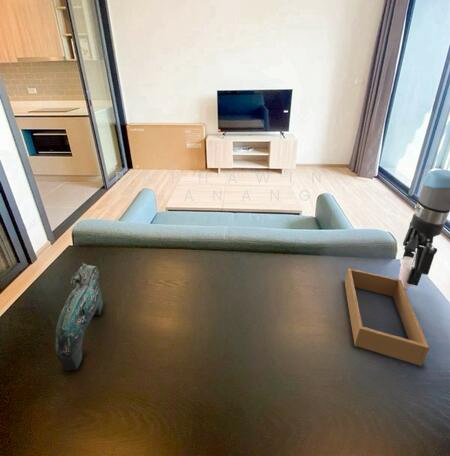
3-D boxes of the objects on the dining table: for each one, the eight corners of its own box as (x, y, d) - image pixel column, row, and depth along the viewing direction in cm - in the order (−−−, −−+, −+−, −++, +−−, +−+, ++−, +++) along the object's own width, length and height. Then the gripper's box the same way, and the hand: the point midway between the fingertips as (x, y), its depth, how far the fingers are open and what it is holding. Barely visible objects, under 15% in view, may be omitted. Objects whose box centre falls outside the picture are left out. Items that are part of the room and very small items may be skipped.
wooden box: (395, 295, 82) (400, 279, 80) (421, 366, 63) (429, 348, 60) (344, 283, 87) (348, 267, 84) (354, 345, 67) (359, 328, 65)
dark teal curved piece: (91, 302, 79) (78, 253, 72) (111, 300, 80) (100, 252, 73) (57, 374, 61) (35, 319, 54) (84, 372, 61) (66, 316, 54)
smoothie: (391, 285, 84) (402, 253, 79) (395, 274, 89) (405, 243, 84) (414, 296, 80) (427, 263, 75) (417, 284, 84) (429, 252, 79)
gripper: (403, 200, 84) (387, 253, 92) (427, 235, 67) (405, 296, 75) (429, 204, 82) (410, 257, 90) (461, 241, 65) (434, 303, 73)
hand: (408, 275), depth 83 cm, fingers closed on smoothie, 6 cm apart
